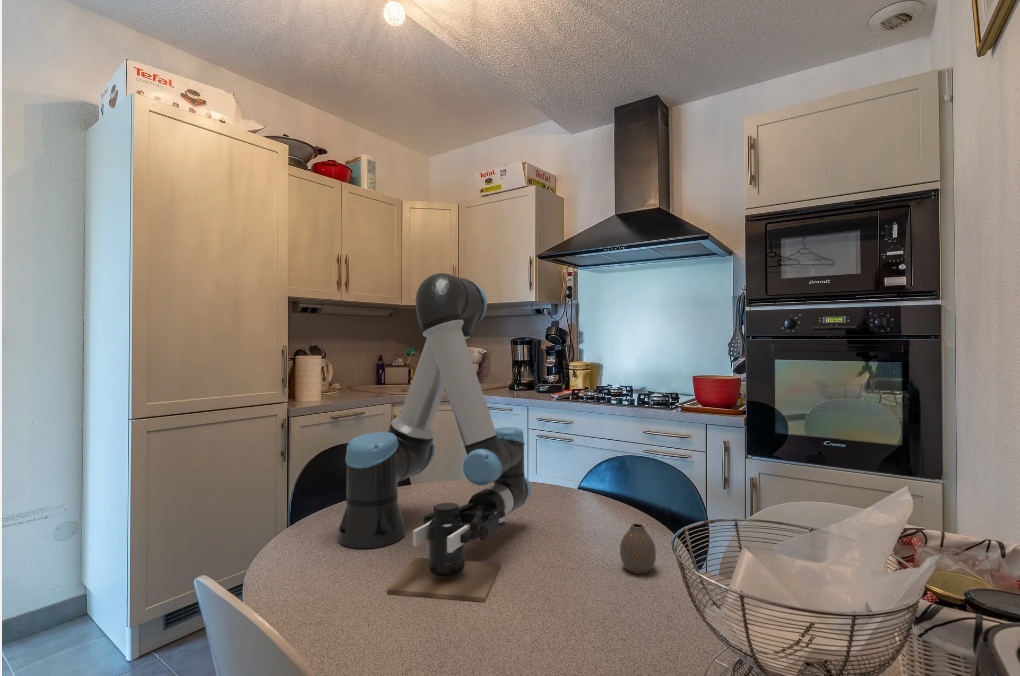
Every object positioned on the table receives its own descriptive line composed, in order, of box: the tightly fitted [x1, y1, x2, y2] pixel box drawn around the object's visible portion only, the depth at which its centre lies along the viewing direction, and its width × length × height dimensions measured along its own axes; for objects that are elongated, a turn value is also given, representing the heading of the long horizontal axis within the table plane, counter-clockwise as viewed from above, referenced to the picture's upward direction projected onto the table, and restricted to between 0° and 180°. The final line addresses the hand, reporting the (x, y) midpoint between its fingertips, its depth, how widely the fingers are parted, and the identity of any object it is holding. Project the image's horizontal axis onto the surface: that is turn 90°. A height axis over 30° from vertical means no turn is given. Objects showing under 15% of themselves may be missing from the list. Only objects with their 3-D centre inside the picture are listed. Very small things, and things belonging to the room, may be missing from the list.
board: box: [386, 557, 502, 603], centre depth 96 cm, size 18×14×1 cm
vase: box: [619, 522, 657, 575], centre depth 100 cm, size 7×7×9 cm
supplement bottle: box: [427, 502, 466, 576], centre depth 96 cm, size 7×7×12 cm
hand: (431, 541), depth 92 cm, fingers closed on supplement bottle, 7 cm apart
